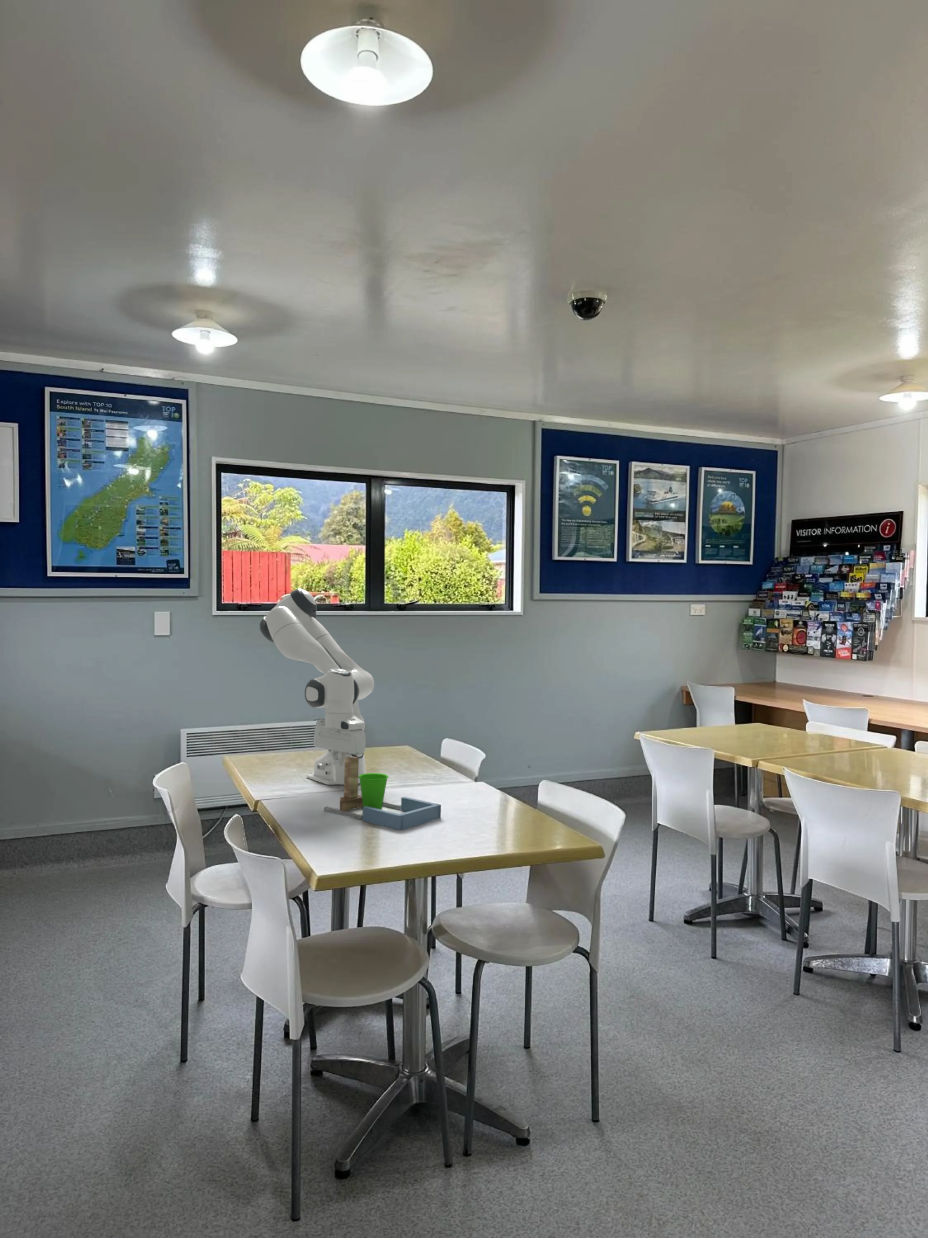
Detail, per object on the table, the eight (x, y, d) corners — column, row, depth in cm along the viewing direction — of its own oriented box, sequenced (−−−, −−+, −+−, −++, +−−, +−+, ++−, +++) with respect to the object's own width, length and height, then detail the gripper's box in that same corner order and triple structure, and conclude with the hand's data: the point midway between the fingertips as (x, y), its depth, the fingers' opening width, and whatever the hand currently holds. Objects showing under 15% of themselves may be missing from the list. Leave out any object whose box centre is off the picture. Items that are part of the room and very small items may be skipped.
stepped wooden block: (332, 808, 255) (334, 759, 255) (360, 801, 264) (362, 754, 264) (344, 811, 252) (345, 761, 252) (372, 804, 261) (373, 756, 261)
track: (323, 810, 253) (323, 806, 253) (364, 800, 267) (364, 797, 267) (361, 820, 244) (361, 816, 244) (401, 809, 257) (402, 805, 257)
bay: (362, 820, 243) (362, 807, 243) (404, 809, 257) (404, 796, 257) (399, 830, 234) (399, 816, 234) (440, 818, 248) (440, 804, 248)
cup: (352, 814, 250) (353, 777, 250) (366, 807, 259) (366, 772, 259) (379, 817, 247) (380, 780, 247) (392, 810, 256) (393, 774, 255)
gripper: (309, 718, 266) (308, 762, 266) (354, 725, 253) (353, 771, 253) (324, 716, 271) (323, 759, 271) (369, 723, 258) (368, 768, 258)
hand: (338, 765), depth 262 cm, fingers closed
